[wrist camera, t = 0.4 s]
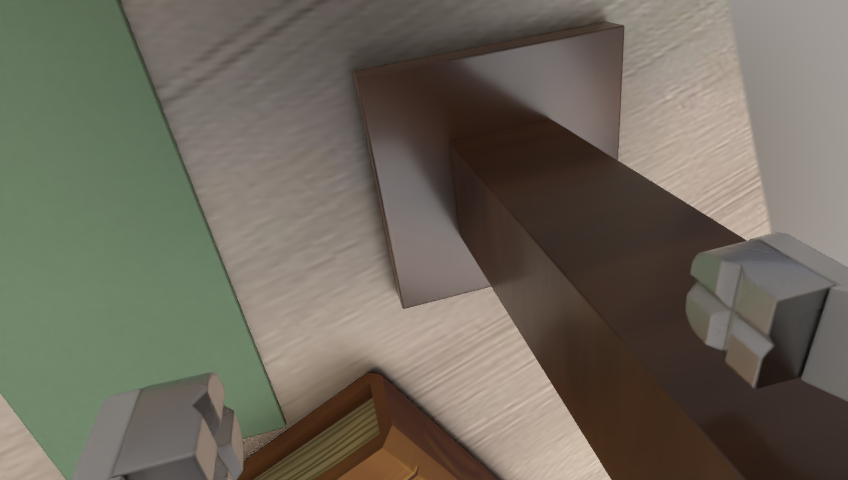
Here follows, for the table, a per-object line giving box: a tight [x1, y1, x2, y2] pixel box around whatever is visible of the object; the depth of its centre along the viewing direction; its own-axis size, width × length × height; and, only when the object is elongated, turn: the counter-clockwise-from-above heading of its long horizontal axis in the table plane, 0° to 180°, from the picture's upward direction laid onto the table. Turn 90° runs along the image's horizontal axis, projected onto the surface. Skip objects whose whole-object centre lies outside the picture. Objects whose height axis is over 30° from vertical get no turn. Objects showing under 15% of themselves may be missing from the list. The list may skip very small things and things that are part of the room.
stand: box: [353, 22, 848, 480], centre depth 16 cm, size 12×12×26 cm
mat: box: [0, 0, 286, 480], centre depth 24 cm, size 24×12×1 cm, turn 8°
